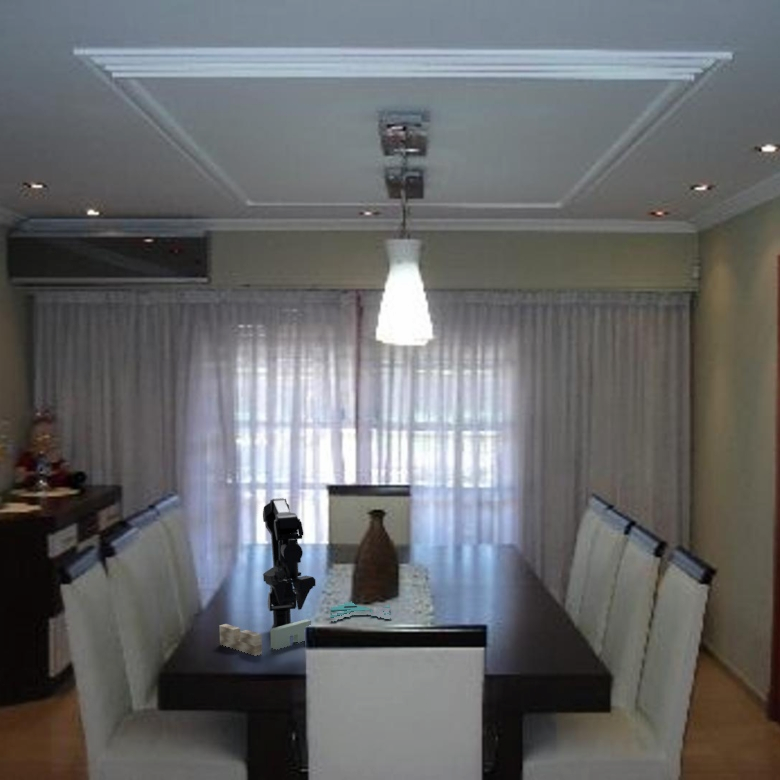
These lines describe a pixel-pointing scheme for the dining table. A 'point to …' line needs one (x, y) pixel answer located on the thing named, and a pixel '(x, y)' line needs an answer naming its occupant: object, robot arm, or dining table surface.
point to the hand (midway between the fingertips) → (290, 607)
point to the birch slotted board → (240, 639)
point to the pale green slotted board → (288, 634)
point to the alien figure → (351, 607)
